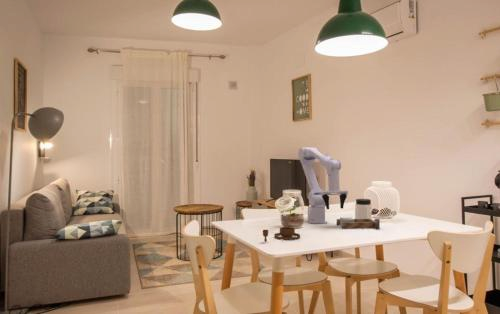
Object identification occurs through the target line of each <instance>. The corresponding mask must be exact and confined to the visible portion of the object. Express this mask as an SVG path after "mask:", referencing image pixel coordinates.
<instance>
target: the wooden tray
mask: <svg viewBox="0 0 500 314" xmlns="http://www.w3.org/2000/svg"><path fill="white" fill-rule="evenodd" d="M353 219H354V222H343V223H342V227H341V228H342V230H343V229H345V230H347V229H350V230H351V229H352V230H353V229H354V230H355V229H375V230H380V229H381V228H380V225H381V224H380V222H381V221H380V218H374V220H373V219H372V218H371V219H355V218H353ZM336 226H340V218H336Z"/></svg>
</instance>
